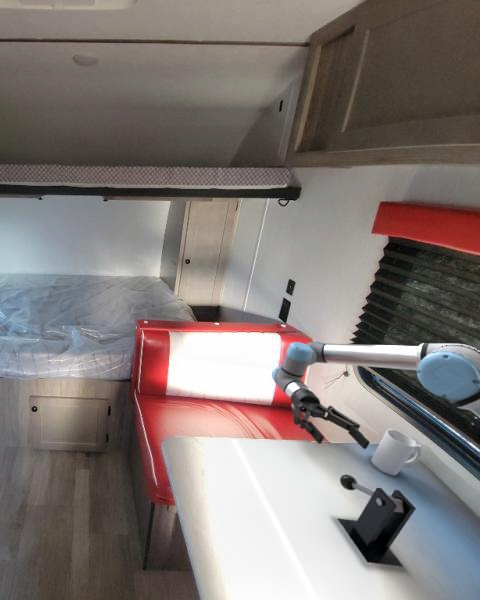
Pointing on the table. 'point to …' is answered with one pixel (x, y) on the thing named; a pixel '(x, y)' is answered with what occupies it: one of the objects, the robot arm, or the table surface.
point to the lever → (366, 490)
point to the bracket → (379, 527)
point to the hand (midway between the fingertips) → (344, 443)
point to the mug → (395, 452)
